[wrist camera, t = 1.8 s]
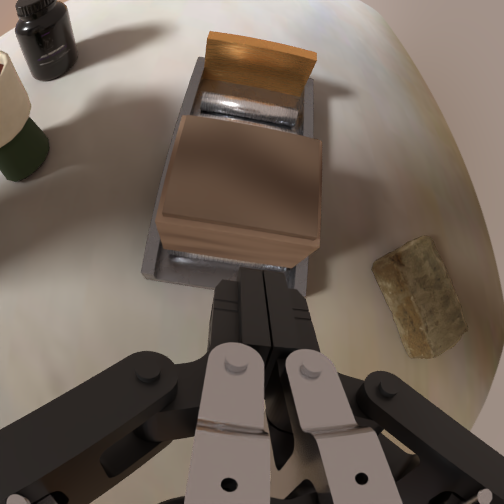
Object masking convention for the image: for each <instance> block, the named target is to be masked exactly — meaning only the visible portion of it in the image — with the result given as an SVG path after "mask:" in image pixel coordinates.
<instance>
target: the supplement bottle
mask: <svg viewBox="0 0 504 504" xmlns="http://www.w3.org/2000/svg"><path fill="white" fill-rule="evenodd" d="M16 10H17V15H18V18H19V21H18V23H17V24H16V28H15V34H16V37H17V39H18V42H19V45H20V47H21V50H22V52H23V55H24V57H25V60H26V62H27V65H28V67H29V70H30V72H31V74H32V76H33V77H34V78H35V79H37V80H40V81H48V80H52V79H55V78H57V77H59V76H61V75H63V74H64V73H66V72H67V71H68V70H69V69H70V68H71V67H72V66H73V65H74V64H75V62H76V60H77V57H78V52H77V47H76V43H75V39H74V35H73V31H72V26H71V22H70V17H69V13H68V9H67V6H66V5H65V4H64V3H62V2H60V1H57V0H18V1H17V3H16Z"/></svg>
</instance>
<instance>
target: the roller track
mask: <svg viewBox="0 0 504 504" xmlns="http://www.w3.org/2000/svg"><path fill="white" fill-rule="evenodd" d="M316 61H317V53H316V52H312V51H308V50H305V49H301V48H297V47H293V46H289V45H284V44H280V43H276V42H271V41H266V40H261V39H256V38H251V37H245V36H239V35H233V34H227V33H220V32H212V31H210V32H209V35H208V38H207V44H206V54H205V58H203V57H198V59H197V62H196V65H195V68H194V71H193V74H192V76H191V79H190V82H189V85H188V88H187V91H186V94H185V98H184V101H183V104H182V107H181V110H180V113H179V117H178V120H177V123H176V127H175V130H174V133H173V137H172V140H171V144H170V147H169V151H168V155H167V158H166V162H165V166H164V170H163V174H162V178H161V182H160V186H159V190H158V194H157V198H156V202H155V206H154V211H153V215H152V220H151V224H150V229H149V234H148V239H147V243H146V248H145V253H144V259H143V264H142V269H141V273H142V275H143V276H144V277H145V278H146V279H148V280H154V281H160V282H166V283H173V284H179V285H185V286H192V287H199V288H205V289H212V290H215V287H216V286H217V285H218V284H219V283H220V281H221V280H222V279H224V280H231V281H236V279H237V274H238V270H239V267H246V268H253V269H260V270H267V271H275V272H282V273H284V274H285V278H286V282H287V287H288V288H291V289H297V290H298V291H299V292H300V293H301V294H302V296H303V297H306V286H307V272H308V257H309V256H308V257H306V258H305V259H304V260H302V261H301V262H300V263H298V264H297V265H295V266H294V267H293V268H286V267H279V266H273V265H266V264H259V263H253V262H246V261H239V260H233V259H226V258H219V257H213V256H206V255H200V254H193V253H187V252H180V251H174V250H167V249H163V246H162V242H161V239H160V236H159V233H158V230H157V226H156V223H155V219H156V215H157V210H158V206H159V202H160V197H161V193H162V189H163V185H164V181H165V177H166V173H167V169H168V165H169V161H170V157H171V153H172V150H173V146H174V142H175V139H176V135H177V132H178V128H179V125H180V121H181V118H182V115H186V116H187V115H192V116H200V117H207V118H213V119H220V120H226V121H232V122H238V123H243V124H249V125H254V126H259V127H264V128H269V129H274V130H279V131H283V132H288V133H292V134H297V135H301V136H305V137H310V138H313V79H311V78H309V76H310V74H311V72H312V70H313V68H314V66H315V63H316Z"/></svg>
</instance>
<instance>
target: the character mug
mask: <svg viewBox="0 0 504 504" xmlns="http://www.w3.org/2000/svg"><path fill="white" fill-rule="evenodd" d="M30 110H31V103H30V100H29V97H28V94H27V92H26V90H25V88H24V86H23V84H22V82H21V80H20V78H19V76H18V74H17V72H16V70H15V68H14V66H13V64H12V62H11V59H10V57H9V56H8V54H7V53H5V52H3V51H0V170H1V172H2V173H3V175H4V176H5V177H6V179H7V180H11V181H14V182H17V181H19V180H22V179H24V178H26V177H28V176H29V175H30V174H32V173H33V172H34V171H36V170H37V169H38V167H39V166H40V165H41V164H42V163H43V161H44V160H45V158H46V156H47V153H48V151H49V142H48V138H47V137H46V136H45V134H44V133H43V132H42V130H41V129H40V128H39V127H38V126H37V125H36V124H35V123H34V121H33V120H32V119H31V118H30V117H29V114H30Z"/></svg>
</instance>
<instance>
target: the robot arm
mask: <svg viewBox="0 0 504 504" xmlns="http://www.w3.org/2000/svg"><path fill="white" fill-rule="evenodd" d="M308 311H309V309H308V306H307V302H306V299H305V298H304V297H303V296H302V294H301V293H300V292H299V291H298V290H297V289H291V288H288V287H287V282H286V278H285V274H284V273H282V272H275V271H267V270H260V269H253V268H246V267H239V270H238V274H237V279H236V281H231V280H224V279H222V280H221V281H220V283H219V284H218V285H217V286H216V287H215V292H214V298H213V304H212V311H211V317H210V324H209V336H208V348H207V353H206V354H205V355H204V356H203V357H202V358H200V359H198V360H196V361H193V362H190V363H183V364H174V363H173V362H172V361H171V360H170V359H169V358H168V357H166V356H164V355H162V354H160V353H157V352H152V351H142V352H137V353H134V354H132V355H130V356H128V357H126V358H124V359H123V360H121V361H119V362H118V363H116V364H114V365H113V366H111V367H109V368H108V369H106V370H104V371H102V372H101V373H99V374H97V375H96V376H94V377H92V378H91V379H89V380H87V381H85V382H84V383H82V384H80V385H78V386H77V387H75V388H73V389H72V390H70V391H68V392H66V393H65V394H63V395H61V396H59V397H58V398H56V399H54V400H52V401H51V402H49V403H47V404H45V405H44V406H42V407H40V408H38V409H37V410H35V411H33V412H31V413H29V414H28V415H26V416H24V417H22V418H20V419H19V420H17V421H15V422H13V423H12V424H10V425H8V426H6V427H4V428H2V429H1V430H0V504H89V503H91V502H92V501H94V500H95V499H97V498H98V497H99V496H101V495H102V494H104V493H105V492H107V491H108V490H109V489H111V488H112V487H114V486H115V485H116V484H118V483H119V482H120V481H122V480H123V479H125V478H126V477H127V476H129V475H130V474H131V473H133V472H134V471H135V470H137V469H138V468H139V467H141V466H142V465H143V464H145V463H146V462H147V461H148V460H150V459H151V458H152V457H154V456H155V455H156V454H157V453H159V452H160V451H161V450H162V449H164V448H165V447H166V446H167V445H169V444H170V443H171V442H172V441H173V440H175V439H181V438H187V437H193V436H195V437H194V443H193V449H192V455H191V462H190V468H189V474H188V481H187V487H186V494H185V496H182V497H177V498H173V499H169V500H166V501H163V502H161V503H159V504H504V457H503V456H502V455H501V454H499V453H498V452H497V451H495V450H494V449H493V448H491V447H490V446H489V445H487V444H486V443H485V442H483V441H482V440H480V439H479V438H478V437H476V436H475V435H474V434H472V433H471V432H470V431H468V430H467V429H466V428H464V427H463V426H462V425H460V424H459V423H458V422H456V421H455V420H454V419H452V418H451V417H450V416H448V415H447V414H446V413H444V412H443V411H442V410H440V409H439V408H438V407H436V406H435V405H434V404H433V403H431V402H430V401H429V400H427V399H426V398H425V397H423V396H422V395H421V394H419V393H418V392H417V391H415V390H414V389H413V388H411V387H410V386H409V385H407V384H406V383H405V382H403V381H402V380H401V379H400V378H398V377H397V376H395V375H393V374H391V373H389V372H385V371H375V372H372V373H370V374H369V375H368V376H367V377H366V379H365V380H364V381H363V380H360V379H356V378H353V377H349V376H346V375H343V374H340V373H338V372H337V371H336V368H335V366H334V364H333V363H332V361H331V360H330V359H329V358H328V357H327V356H325V355H324V354H322V353H320V349H319V345H318V342H317V338H316V334H315V331H314V327H313V324H312V321H311V316H310V313H309V312H308ZM264 399H265V403H266V409H265V412H264ZM384 429H385V430H386V431H387V432H389V433H390V434H391V435H393V436H394V437H395V438H396V439H398V440H399V441H400V442H401V443H403V444H404V445H405V446H407V447H408V448H409V449H410V450H412V451H413V452H414V453H416V454H413V455H412V454H408V453H406V452H404V451H403V450H402V449H400V448H399V447H398V446H397V445H395V444H394V443H393V442H392V441H390V440H389V439H388V438H387V437H385V436H384V435H383V434H382V433H381V432H382V431H383V430H384ZM270 471H271V481H270Z"/></svg>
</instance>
